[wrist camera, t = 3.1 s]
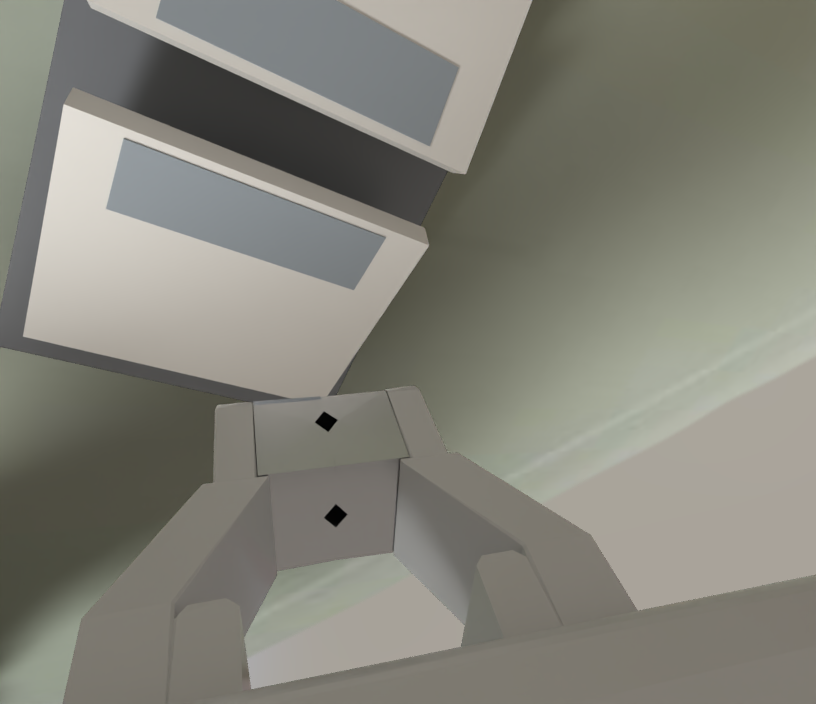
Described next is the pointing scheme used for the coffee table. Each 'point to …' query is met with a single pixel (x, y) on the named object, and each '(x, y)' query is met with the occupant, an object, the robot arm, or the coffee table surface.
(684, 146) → the coffee table surface
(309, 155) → the switch console
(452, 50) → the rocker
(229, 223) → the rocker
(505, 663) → the robot arm
